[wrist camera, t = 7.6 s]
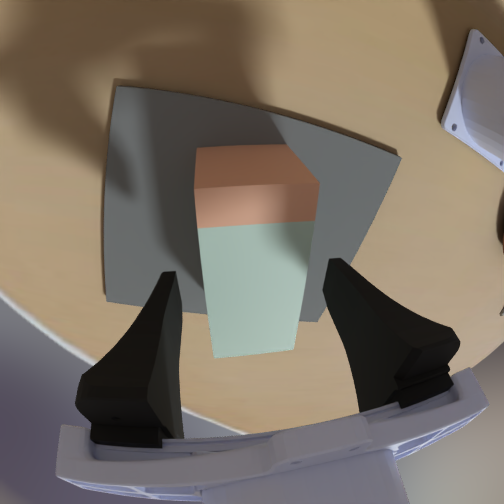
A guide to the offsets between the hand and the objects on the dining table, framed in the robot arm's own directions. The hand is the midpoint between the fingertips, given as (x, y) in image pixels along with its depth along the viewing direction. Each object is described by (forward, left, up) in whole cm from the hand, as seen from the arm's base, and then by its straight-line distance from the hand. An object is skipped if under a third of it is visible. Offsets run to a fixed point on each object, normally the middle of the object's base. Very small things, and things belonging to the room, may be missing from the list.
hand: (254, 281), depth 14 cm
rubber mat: (0, 0, -5) cm, 5 cm away
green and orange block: (0, 0, -4) cm, 4 cm away
